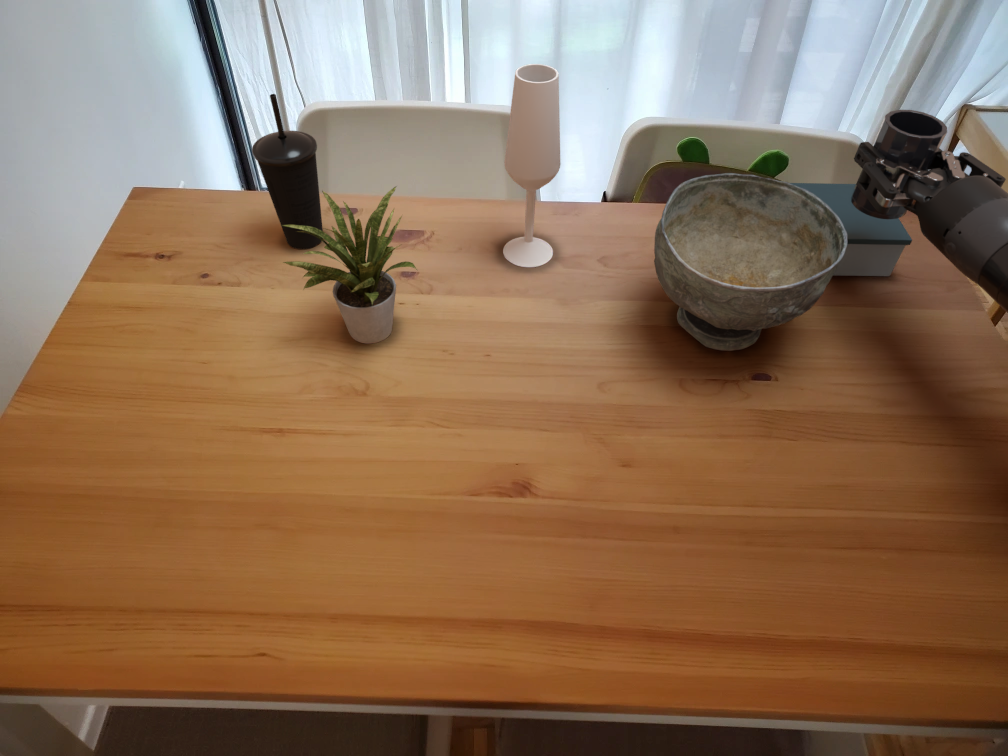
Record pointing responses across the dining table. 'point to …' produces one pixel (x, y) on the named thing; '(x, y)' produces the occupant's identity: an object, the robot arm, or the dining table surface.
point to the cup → (903, 150)
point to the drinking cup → (291, 180)
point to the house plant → (358, 272)
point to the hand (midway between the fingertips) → (888, 146)
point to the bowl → (744, 255)
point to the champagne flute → (533, 152)
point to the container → (862, 233)
